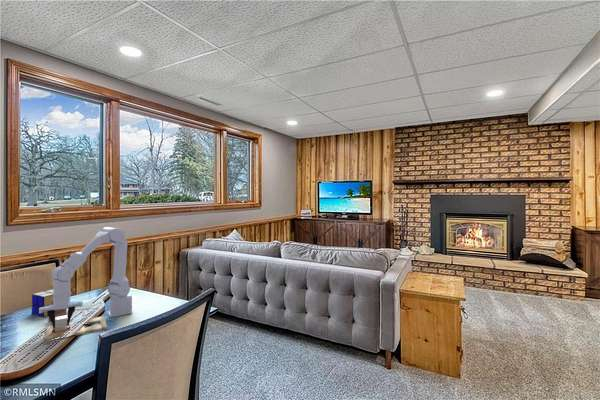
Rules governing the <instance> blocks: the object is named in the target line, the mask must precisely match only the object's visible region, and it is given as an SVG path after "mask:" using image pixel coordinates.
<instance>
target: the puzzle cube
mask: <svg viewBox="0 0 600 400" xmlns="http://www.w3.org/2000/svg"><path fill="white" fill-rule="evenodd" d="M52 300H53V289H49V290H45V291H40V292H36V293H32V295H31V314H32V315H35V316H38V317H41V318H45V317H48V315H47V312H43V313H39V308H40V307H46V306H49V305H51V304H52Z"/></svg>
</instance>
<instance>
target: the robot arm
mask: <svg viewBox="0 0 600 400" xmlns="http://www.w3.org/2000/svg"><path fill="white" fill-rule="evenodd" d="M107 243H111V244H112V245H113V246H114V251H113V252H114V257H113V273H112V277H111V279H110V280H109V284H108V286H107V292H108V293H109V297H110V299H109V305H110V306H109V311H108V316H109V318H116V317H120V316H125V315H130V314H132V313H133V295H132V294H129V293H130V292H131V286H130V284H129V282H130V281H129V279H128V278H127V276H126V273H127V272H126V271H127V258H128V257H127V255H128V240H127V238H126V236H125V231H124V230H122V229H121V228H119V227H109V226H105V227H103V228H101V229H100V230H99V231H98V232H96V234H95V236H94V237H93V238H92V239H91V240H90V241H89V242H88V243H87V244H86V245H85V246H84V247H83V248H82V249H81V250H80V251H76V252H74V253H71V254H70V255H69V257H68V258H67V259H66V260H65V261H64V262H62V263H61V264H60V266H57V267H55V268H54V269H53V270H52V272H51V273H50V277H51V278H52V279H53V305H50V306H46V307H40V308H39V313H43V312H47V315H48V316H47V317H48V319H49V318H50V320H51V322H50V323H51V324H52V325H51V326H53V328H55V310H61V309H67V315H68V319H67V326H68V325H69V323H70V322H71V318H72V317H73V314H74V312H75V311H76V308H79V307H80V308H81V307H82V308H83V306H84V304H83V303H84V302H83V300H80V301H71V285H72V283H71V280H72V278H73V277H74V274H75V272H76V271H77V270H78V269H79V268H80V267H81V266H82V265H83V264H84V263H85V262H86V261H87V257H88V256H89V255H90V254H91V253H92V252H94V251H95V250H96V249H97V248H98V247H99V246H101V244H107Z"/></svg>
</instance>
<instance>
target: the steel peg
mask: <svg viewBox="0 0 600 400" xmlns="http://www.w3.org/2000/svg"><path fill="white" fill-rule="evenodd" d="M67 320H68V314H67V315H64V316H59V317H56V318H55V331H54V333H58V332H63V331H68V328H67Z"/></svg>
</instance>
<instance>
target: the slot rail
mask: <svg viewBox="0 0 600 400" xmlns="http://www.w3.org/2000/svg"><path fill="white" fill-rule="evenodd" d="M90 319H91V318H90ZM106 320H107V319H106V317H105V315H103V316H96V317H92V319H91V320H90V321H89V322H88V325H91V326H85V325H84V326H83V327H82V328H81V329H80V330H79V331H77V332H76V336H80V335H86V334H90V333H95V332H98V331H105V330H107V329H108V326H107V321H106ZM97 323H100V324H97ZM92 324H96V325H92ZM68 326H70V328H69V329H67V331H63V332H58V333H55V332H54V331H53V330H55V328H53V325H49V326H47V327H46V330H45V331H46V332H45V334H44V339H43V342H44V341H48V342H50V341H49V340H52V339H55V338H58V337H62V336H64V333H66V332H68V331H70V330H71V329H72V327H73V324H70V325H68ZM52 331H53V332H54V333H53V332H52ZM52 341H53V340H52Z"/></svg>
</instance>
